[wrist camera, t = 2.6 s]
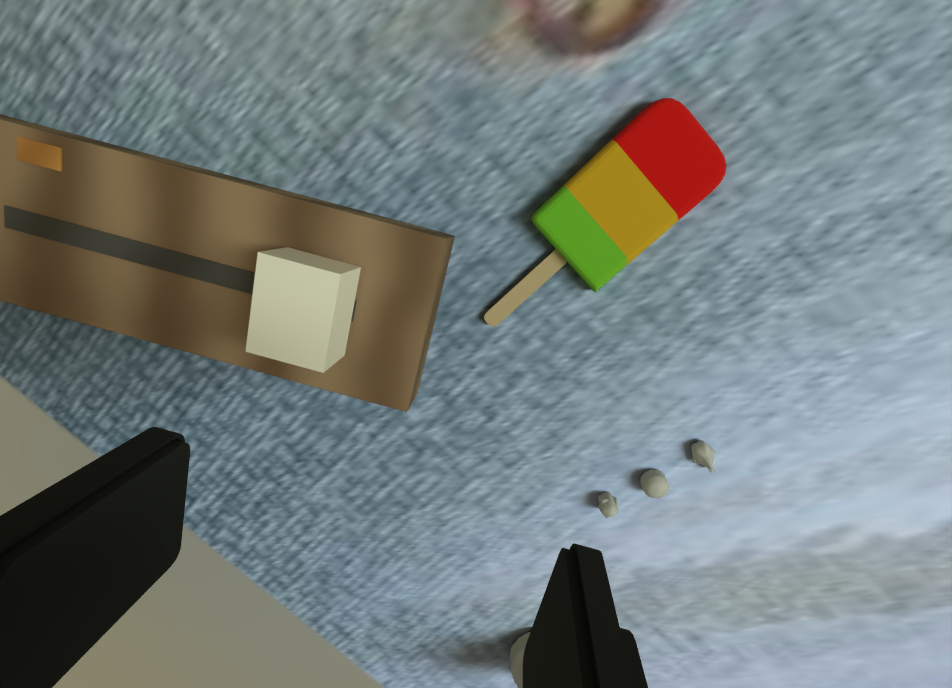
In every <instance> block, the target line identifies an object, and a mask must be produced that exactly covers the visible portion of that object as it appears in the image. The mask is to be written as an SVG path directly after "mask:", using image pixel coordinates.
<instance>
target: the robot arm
mask: <svg viewBox="0 0 952 688" xmlns="http://www.w3.org/2000/svg"><path fill="white" fill-rule="evenodd" d="M189 458H190V446H189V444H187V443H185V439H184V436H183V435H181V434H179V433H176V432H172V431H168V430H165V429H161V428H158V427H152V428H149V429H147V430H146V431H144V432H142V433H140V434H139V435H137V436H135V437H134V438H132V439H130V440H129V441H127V442H125V443H123V444H122V445H120V446H118V447H117V448H115V449H113V450H112V451H110V452H108V453H106V454H105V455H103V456H101V457H100V458H98V459H96V460H95V461H93V462H91V463H89V464H88V465H86V466H84V467H83V468H81V469H79V470H78V471H76V472H74V473H72V474H71V475H69V476H67V477H66V478H64V479H62V480H61V481H59V482H57V483H55V484H54V485H52V486H50V487H49V488H47V489H45V490H44V491H42V492H40V493H38V494H37V495H35V496H33V497H32V498H30V499H28V500H26V501H25V502H23V503H21V504H20V505H18V506H16V507H15V508H13V509H11V510H10V511H8V512H6V513H5V514H3V515H1V516H0V688H52V687H53V686H54V685H55V684H56V683H57V682H58V681H59V680H60V679H61V677H63V675H65V674H66V673H67V672H68V671H69V670H70V668H71V667H72V666H74V665H75V663H76V662H77V661H78V660H79V659H80V658H81V657H82V656H83V655H84V654H85V653H86V652H87V651H88V650H89V649H90V648H91V647H92V646H93V645H94V644H95V643H96V642H97V641H98V640H99V639H100V638H101V637H102V636H103V635H104V634H105V633H106V632H107V631H108V630H109V629H110V628H111V627H112V626H113V625H114V624H115V623H116V622H117V620H119V619H120V618H121V617H122V615H124V614H125V613H126V611H128V609H129V608H130V607H131V606H132V605H133V604H134V603H135V602H136V601H137V600H138V599H139V598H140V597H141V596H142V595H143V594H144V593H145V592H146V591H147V590H148V589H149V588H150V587H151V586H152V585H153V584H154V583H155V582H156V581H157V580H158V579H159V578H160V577H161V576H162V575H163V574H164V573H165V572H166V571H167V570H168V569H169V568H170V567H171V565H172V564H173V563H174V561H175V560H176V558H177V556H178V554H179V551H180V547H181V539H182V529H183V519H184V509H185V499H186V488H187V478H188V468H189ZM523 688H648V686H647V682H646V678H645V675H644V671H643V667H642V663H641V660H640V656H639V652H638V648H637V645H636V641H635V639H634V636H633V634H632V633H631V632H630V631H629V630H626V629H623V628H620V627H619V623H618V619H617V615H616V610H615V606H614V602H613V598H612V593H611V589H610V585H609V581H608V577H607V572H606V568H605V564H604V560H603V556H602V553H601V551H599V550H596V549H592V548H589V547H585V546H582V545H578V544H575V543H574V544H572V546H571V547H570V549H565V548H562V549H561V551H560V553H559V556H558V558H557V561H556V564H555V567H554V569H553V572H552V575H551V577H550V580H549V583H548V586H547V588H546V591H545V594H544V597H543V599H542V602H541V605H540V608H539V610H538V613H537V616H536V618H535V621H534V624H533V627H532V629H531V632H530V635H529V638H528V640H527V643H526V646H525V650H524V656H523Z"/></svg>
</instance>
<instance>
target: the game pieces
mask: <svg viewBox="0 0 952 688" xmlns="http://www.w3.org/2000/svg"><path fill="white" fill-rule="evenodd" d="M691 450H692V456H693V463H695V462H698V463H700V464H701V465H703V466H705V467H707V468H708V469H709V471H710V472H711V473H712V472H714V470H713V466H712V465H713V458H714V454H716V451H714V450H713V449H712V448H711V447H710V446H709V445H708V444H707V443H706V442H704V441H698V442H696V443H694V444H692V446H691ZM640 482H641V485H642V487H643V490H644V492H645V494H646V495H648V496H649V497H652V498H660V497H663V496H664V495H665V494H666V493H667V492H668V490H669V484H668V482H667V480H666V477H665V475H664V474H663V473H662V472H661V471H659V470H654V469H651V470H649V471H646V472H644V473H643V475H642V477H641V478H640ZM598 501H599V505H598V508H599V509H600V511H601V512H602V514H603V515H604V516H605V517H606V518H608V517H612V516H614V515H615V514H616V513H617V512H618V507H617V498H616V497H614V498H613V496H612V495H611V493H610V492H605V493H602V494H600V495H599V496H598Z"/></svg>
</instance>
